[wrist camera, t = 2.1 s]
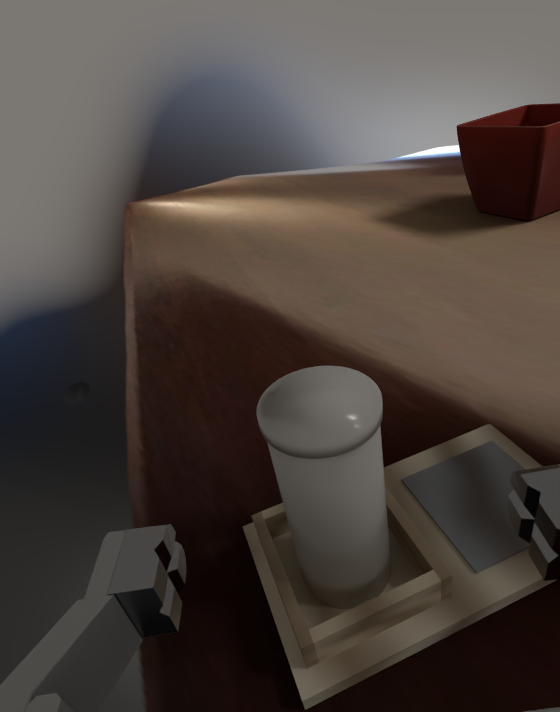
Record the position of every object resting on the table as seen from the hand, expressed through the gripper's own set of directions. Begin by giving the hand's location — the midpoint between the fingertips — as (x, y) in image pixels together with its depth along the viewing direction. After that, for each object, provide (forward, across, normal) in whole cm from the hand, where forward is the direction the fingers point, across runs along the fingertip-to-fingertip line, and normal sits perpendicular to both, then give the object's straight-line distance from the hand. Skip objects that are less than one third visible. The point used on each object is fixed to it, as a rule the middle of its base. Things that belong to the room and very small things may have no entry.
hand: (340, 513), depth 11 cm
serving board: (+14, -6, +22) cm, 27 cm away
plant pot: (+82, -48, +22) cm, 98 cm away
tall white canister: (+14, 0, +21) cm, 25 cm away
